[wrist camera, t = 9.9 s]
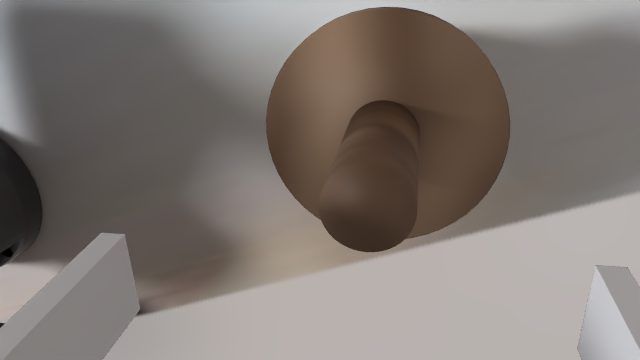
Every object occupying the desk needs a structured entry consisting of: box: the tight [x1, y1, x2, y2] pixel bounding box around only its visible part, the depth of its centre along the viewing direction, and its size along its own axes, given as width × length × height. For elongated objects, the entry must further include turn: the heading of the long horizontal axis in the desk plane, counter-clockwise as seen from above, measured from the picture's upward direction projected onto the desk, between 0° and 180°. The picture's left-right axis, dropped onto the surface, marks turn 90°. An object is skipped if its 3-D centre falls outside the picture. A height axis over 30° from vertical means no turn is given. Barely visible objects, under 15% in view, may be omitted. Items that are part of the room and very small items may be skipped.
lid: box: [266, 7, 510, 252], centre depth 24 cm, size 12×12×9 cm
